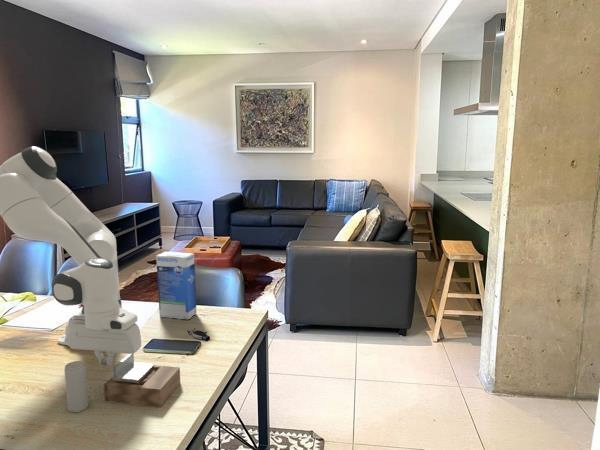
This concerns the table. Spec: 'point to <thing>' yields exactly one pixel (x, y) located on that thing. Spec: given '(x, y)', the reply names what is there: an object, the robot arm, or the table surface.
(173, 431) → the table surface
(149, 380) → the socket block
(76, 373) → the beverage can
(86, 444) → the table surface
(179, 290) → the string lights box
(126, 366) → the panel
